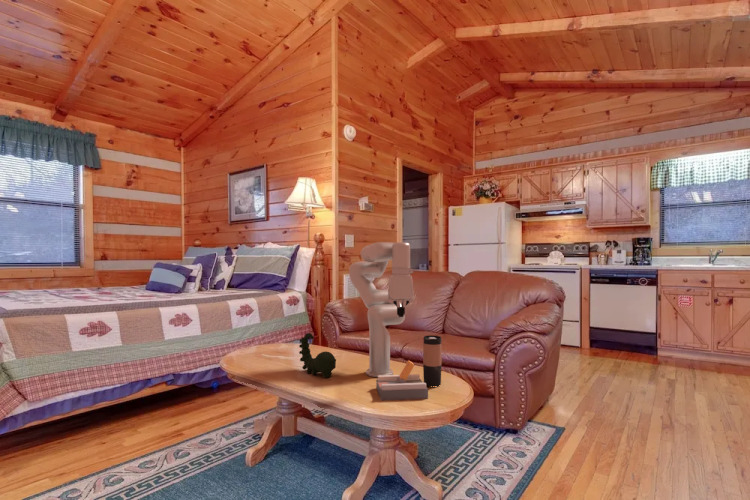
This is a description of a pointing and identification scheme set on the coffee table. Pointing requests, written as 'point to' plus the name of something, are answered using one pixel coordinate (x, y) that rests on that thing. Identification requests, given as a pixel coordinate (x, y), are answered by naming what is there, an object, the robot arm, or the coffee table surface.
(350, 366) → the coffee table surface
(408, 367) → the breaker lever
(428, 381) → the travel mug
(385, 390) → the breaker block
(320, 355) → the toy figurine
